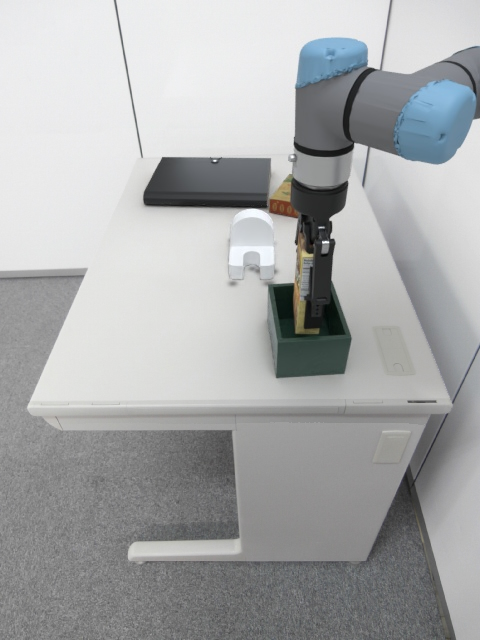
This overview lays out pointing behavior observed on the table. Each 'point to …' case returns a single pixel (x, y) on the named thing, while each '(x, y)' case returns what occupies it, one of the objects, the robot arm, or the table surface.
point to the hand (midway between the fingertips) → (307, 306)
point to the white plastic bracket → (251, 243)
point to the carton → (283, 199)
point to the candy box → (302, 286)
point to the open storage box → (306, 337)
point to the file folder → (210, 182)
